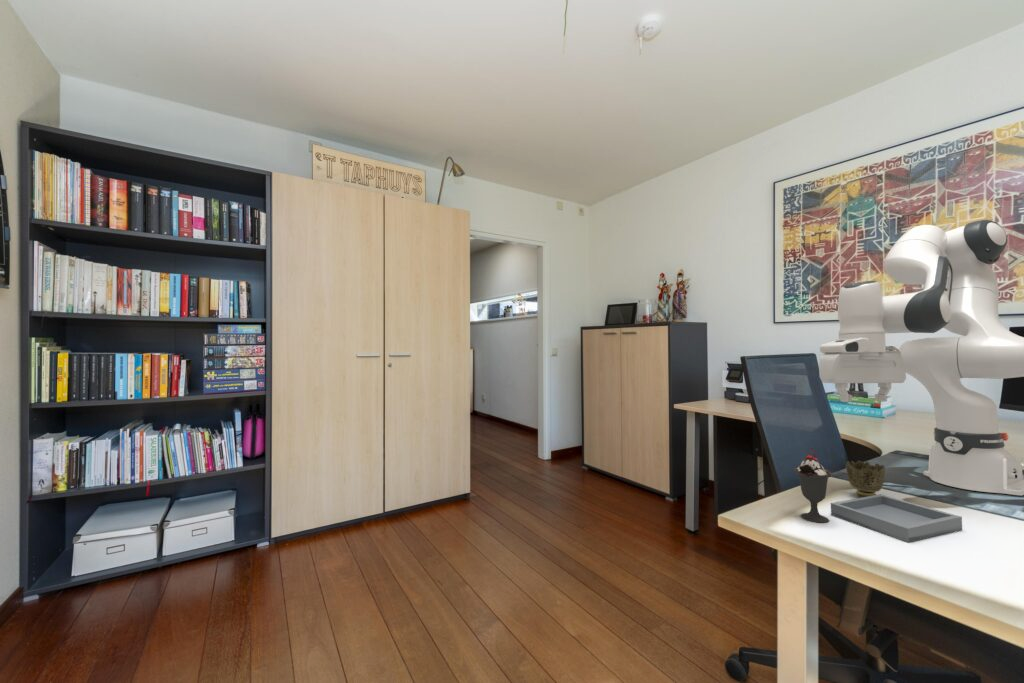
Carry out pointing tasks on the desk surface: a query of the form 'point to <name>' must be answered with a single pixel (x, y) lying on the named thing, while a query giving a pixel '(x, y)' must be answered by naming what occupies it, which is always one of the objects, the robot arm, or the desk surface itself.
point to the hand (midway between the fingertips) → (863, 401)
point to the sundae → (813, 486)
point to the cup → (865, 477)
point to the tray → (897, 517)
